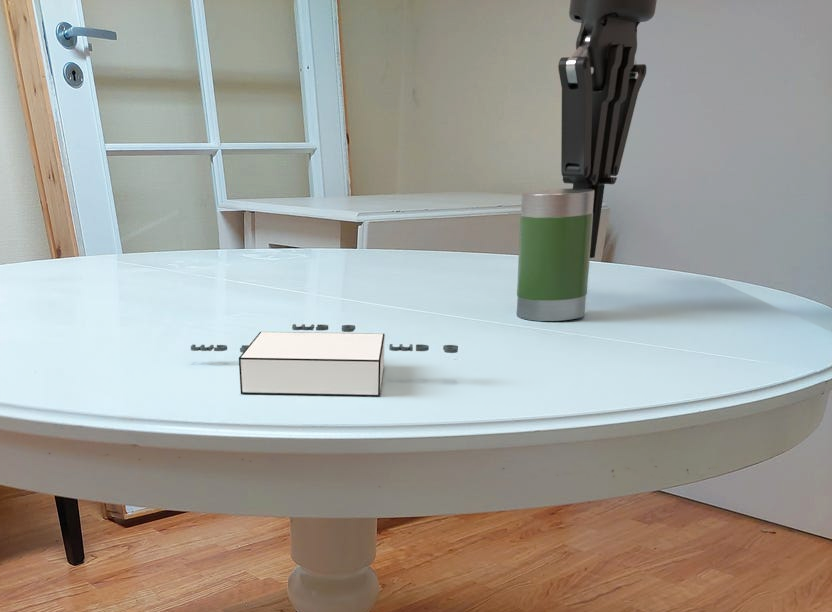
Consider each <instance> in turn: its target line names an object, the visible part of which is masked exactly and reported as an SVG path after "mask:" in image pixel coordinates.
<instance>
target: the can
mask: <svg viewBox="0 0 832 612" xmlns="http://www.w3.org/2000/svg"><path fill="white" fill-rule="evenodd" d="M593 203H594V190H593V189H578V188H573V187H572V188H548V189H536V190H535V189H534V190H526V191H523V192H522V193H521V208H520V211H521V212H520V216H519V239H518V242H519V243H518V259H517V260H518V261H517V262H518V264H517V284H516V297H517V298H516V299H517V300H516V316H517V317H518V318H519V319H522V320H527V321H536V322H562V321H572V320H575V319H579V318H582V317H583V316H584V315H585V312H586V299H587V294H588V285H589V284H588V283H589V273H590V271H589V270H590V260H591V258H590V248H591V235H592V223H593Z"/></svg>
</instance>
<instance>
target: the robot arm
mask: <svg viewBox="0 0 832 612" xmlns="http://www.w3.org/2000/svg"><path fill="white" fill-rule="evenodd" d="M657 2H658V0H570V2H569V10H568V16H569V19H570V20H571V21H572V22H575V23H577V24H578V23H579V24H580V28H579V32H578V35H577V37H576V42H575V51H574V52H573V54H572V55H571V56H565V57H560V59H559V61H558V65H557V66H558V67H557V68H558V74H559V80H560V87H561V145H560V147H561V152H560V155H561V158H560V159H561V162H560V165H561V166H560V168H561V169H560V172H561V176H562V182H563V183H564V184H570V185H572V188H578V189H593V190H594V203H593V223H592V235H591V248H590V259H594V258H595V257H596V250H597V244H598V236H599V228H600V221H601V214H602V209H603V208H602V207H603V202H604V201H603V200H604V192H605V185H614V184H616V182H617V179H618V178H617V176H618V175H619V172H620V168H621V164H622V160H623V157H624V152H625V148H626V144H627V140H628V136H629V132H630V127H631V124H632V120H633V116H634V112H635V107H636V104H637V100H638V96H639V92H640V89H641V88H642V85H643V82H644V80H645V77H646V75H647V65H646V63H642V64H639V63H637V61H636V55H637V51H638V26H639V25H640V24H641V23H646V22H648V21H650V20H652V18H654V16H655V13H656V8H657Z"/></svg>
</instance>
